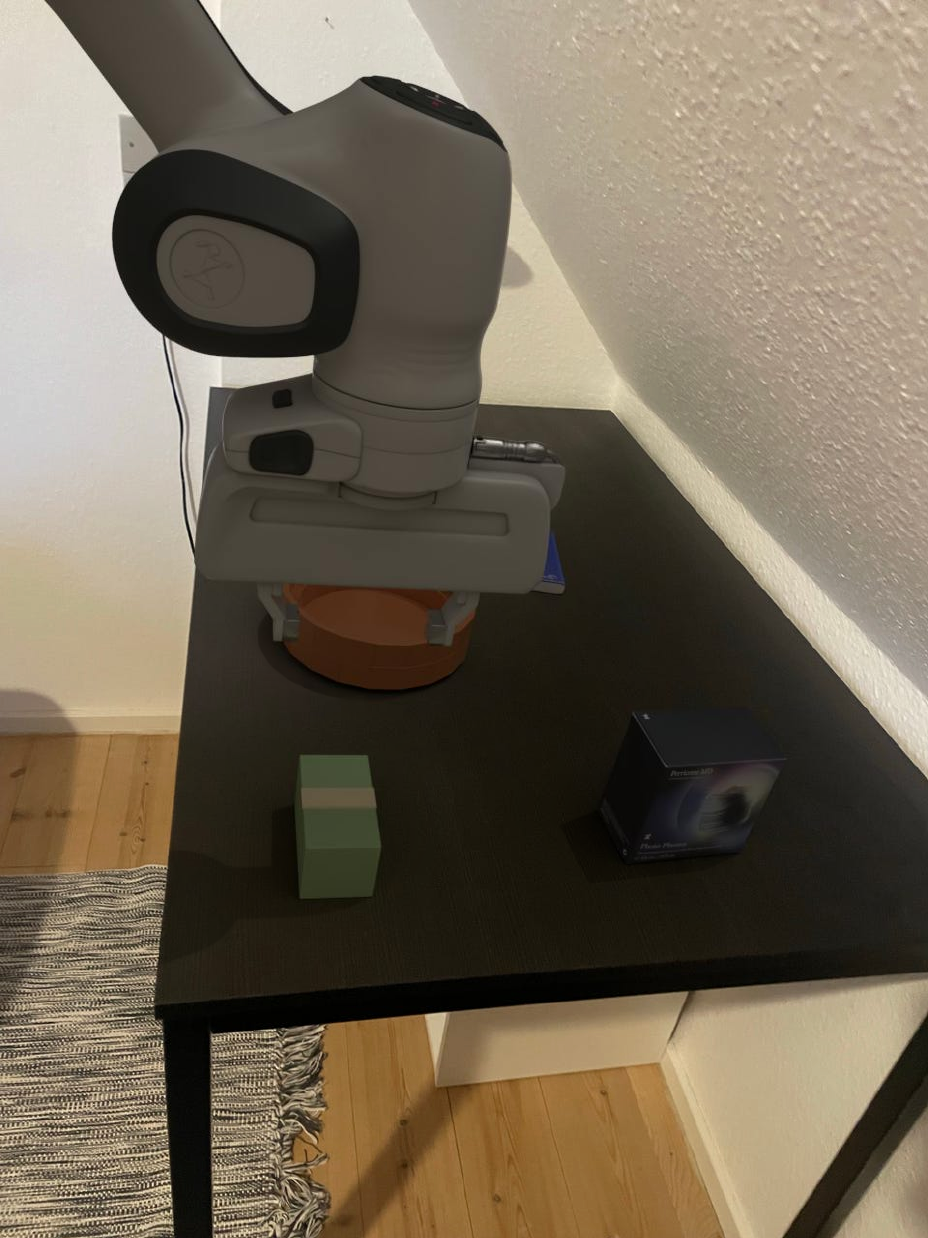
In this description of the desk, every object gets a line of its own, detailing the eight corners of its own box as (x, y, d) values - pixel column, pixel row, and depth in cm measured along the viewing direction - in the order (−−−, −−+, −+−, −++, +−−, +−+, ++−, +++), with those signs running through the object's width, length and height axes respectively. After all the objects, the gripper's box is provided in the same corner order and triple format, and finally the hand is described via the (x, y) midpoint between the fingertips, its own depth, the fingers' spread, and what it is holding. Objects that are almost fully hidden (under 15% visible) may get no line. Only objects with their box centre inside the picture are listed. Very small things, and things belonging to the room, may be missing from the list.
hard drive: (566, 582, 104) (553, 530, 114) (492, 572, 103) (487, 520, 113) (562, 594, 104) (550, 541, 115) (490, 584, 103) (484, 531, 114)
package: (298, 899, 64) (304, 847, 61) (293, 804, 71) (298, 753, 69) (373, 897, 65) (382, 846, 63) (360, 803, 73) (368, 754, 70)
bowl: (281, 692, 82) (285, 641, 79) (276, 581, 97) (279, 534, 94) (483, 697, 86) (494, 648, 83) (449, 589, 101) (457, 545, 98)
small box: (626, 870, 72) (665, 767, 66) (593, 808, 77) (627, 708, 71) (744, 856, 75) (792, 758, 69) (705, 798, 80) (746, 702, 74)
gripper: (557, 422, 56) (512, 616, 63) (199, 389, 51) (195, 603, 58) (588, 469, 51) (535, 673, 58) (194, 437, 46) (190, 665, 53)
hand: (362, 638), depth 58 cm, fingers open, 8 cm apart
